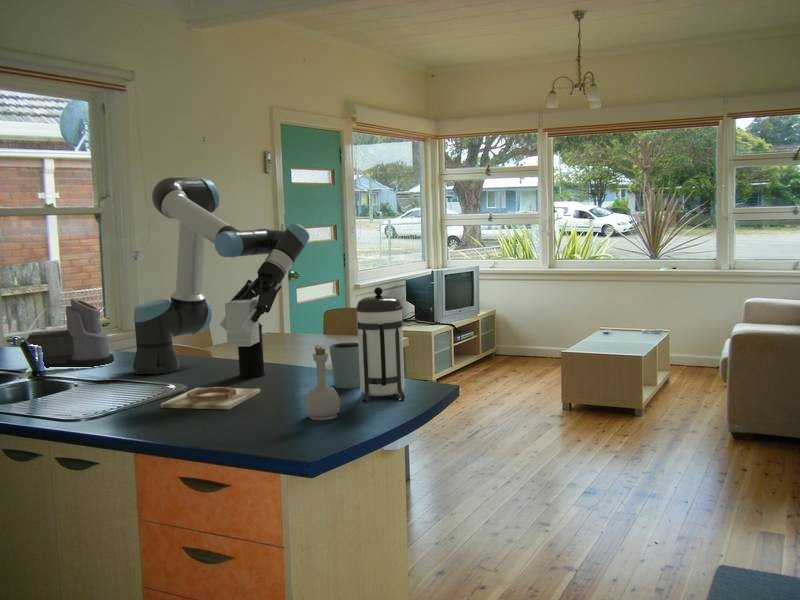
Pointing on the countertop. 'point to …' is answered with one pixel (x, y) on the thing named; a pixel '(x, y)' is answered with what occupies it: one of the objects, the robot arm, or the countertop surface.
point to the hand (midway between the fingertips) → (233, 328)
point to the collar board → (211, 398)
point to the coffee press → (380, 346)
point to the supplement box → (240, 323)
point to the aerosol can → (251, 359)
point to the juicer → (75, 339)
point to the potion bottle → (322, 392)
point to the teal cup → (345, 365)
